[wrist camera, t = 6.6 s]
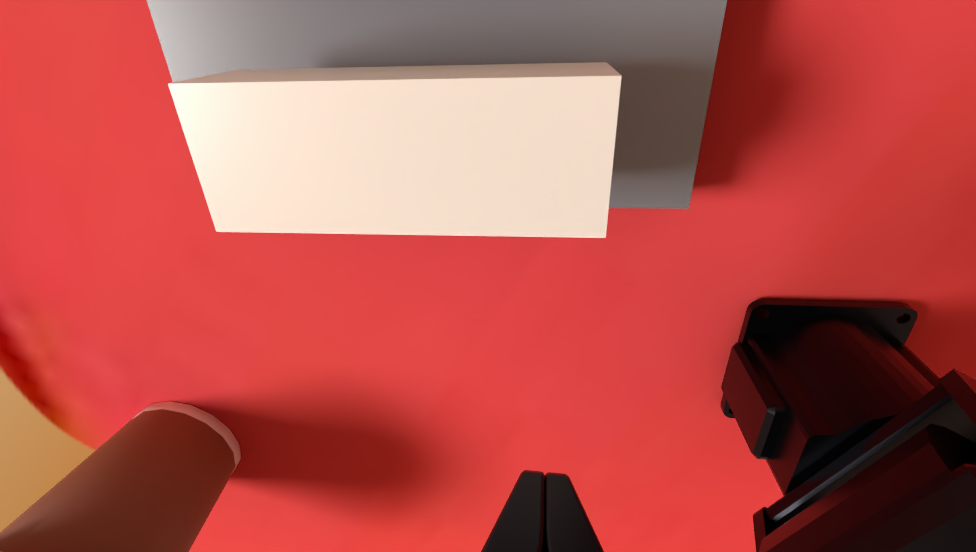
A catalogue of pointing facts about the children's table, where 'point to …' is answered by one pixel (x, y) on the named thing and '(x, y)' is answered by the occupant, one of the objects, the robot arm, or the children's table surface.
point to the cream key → (406, 148)
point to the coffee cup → (135, 488)
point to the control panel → (488, 58)
